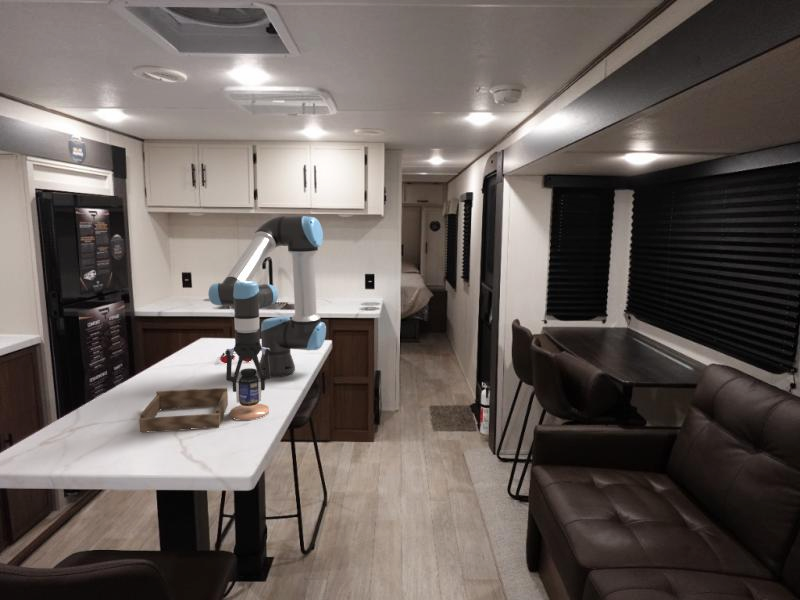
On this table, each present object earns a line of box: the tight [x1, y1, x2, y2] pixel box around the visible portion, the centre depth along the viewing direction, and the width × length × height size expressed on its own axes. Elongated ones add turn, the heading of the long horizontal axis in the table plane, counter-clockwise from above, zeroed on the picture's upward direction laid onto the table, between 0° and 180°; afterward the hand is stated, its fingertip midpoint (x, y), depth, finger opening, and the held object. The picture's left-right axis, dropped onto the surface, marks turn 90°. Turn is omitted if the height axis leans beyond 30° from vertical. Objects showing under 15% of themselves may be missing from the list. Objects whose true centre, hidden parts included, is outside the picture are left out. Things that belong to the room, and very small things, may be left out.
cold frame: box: [138, 387, 229, 433], centre depth 154 cm, size 22×20×6 cm
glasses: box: [219, 352, 253, 364], centre depth 225 cm, size 14×16×5 cm
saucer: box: [229, 403, 270, 421], centre depth 158 cm, size 12×12×1 cm
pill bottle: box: [238, 367, 260, 406], centre depth 157 cm, size 6×6×11 cm
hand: (249, 400), depth 158 cm, fingers closed on pill bottle, 6 cm apart
